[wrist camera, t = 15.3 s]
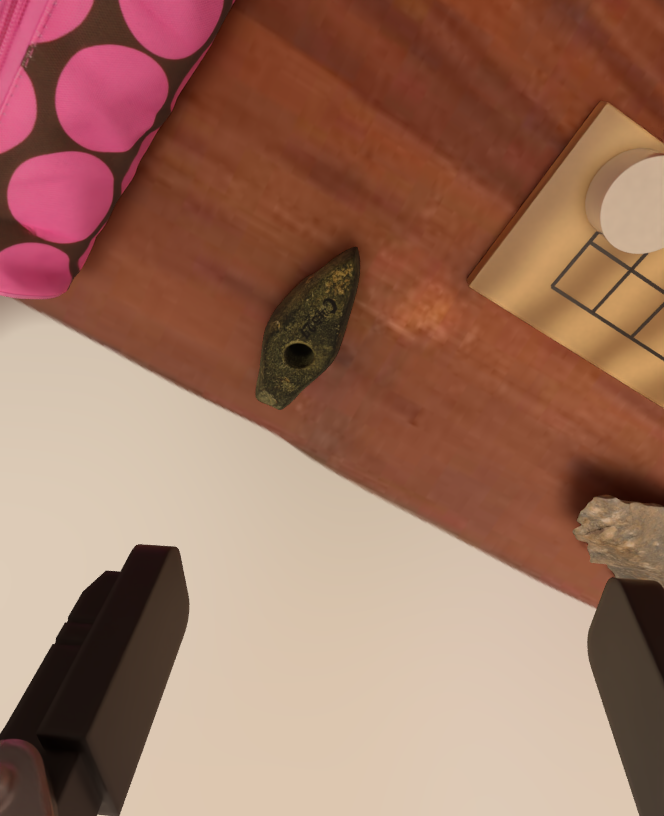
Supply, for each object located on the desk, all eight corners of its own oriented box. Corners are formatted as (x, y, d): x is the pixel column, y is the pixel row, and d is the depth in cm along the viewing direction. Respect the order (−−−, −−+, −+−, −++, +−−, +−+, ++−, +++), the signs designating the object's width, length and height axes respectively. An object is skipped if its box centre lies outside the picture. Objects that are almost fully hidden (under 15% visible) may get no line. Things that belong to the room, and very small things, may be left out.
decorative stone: (323, 404, 40) (316, 438, 36) (256, 387, 39) (243, 419, 36) (369, 239, 33) (367, 260, 30) (290, 217, 33) (278, 236, 29)
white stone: (566, 211, 30) (579, 223, 28) (631, 128, 28) (652, 135, 26) (630, 255, 31) (649, 271, 29) (699, 179, 29) (724, 190, 27)
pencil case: (92, -222, 24) (-70, -372, 16) (281, -52, 26) (229, -102, 18) (-46, 197, 34) (-190, 244, 26) (100, 292, 37) (12, 364, 28)
